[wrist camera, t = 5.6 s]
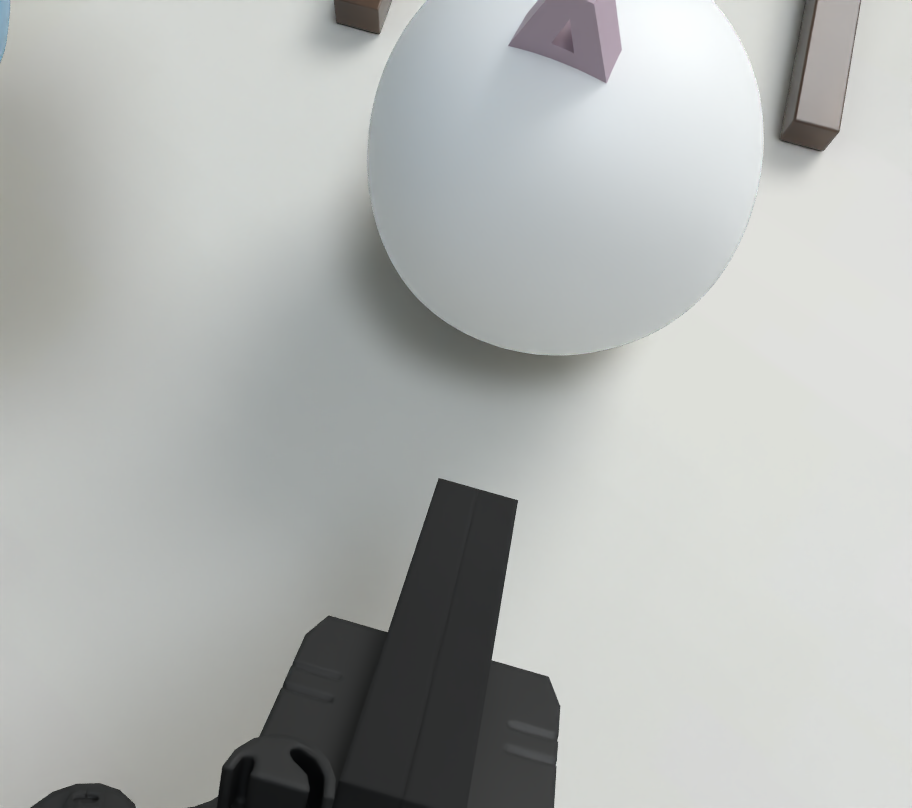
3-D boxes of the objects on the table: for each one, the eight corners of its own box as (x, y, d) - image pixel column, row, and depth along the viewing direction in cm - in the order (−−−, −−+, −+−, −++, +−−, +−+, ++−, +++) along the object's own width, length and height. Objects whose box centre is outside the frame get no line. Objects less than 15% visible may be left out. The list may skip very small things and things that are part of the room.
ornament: (361, 386, 26) (319, 178, 15) (390, 101, 29) (374, -259, 18) (689, 411, 26) (902, 226, 15) (685, 127, 29) (861, -212, 18)
